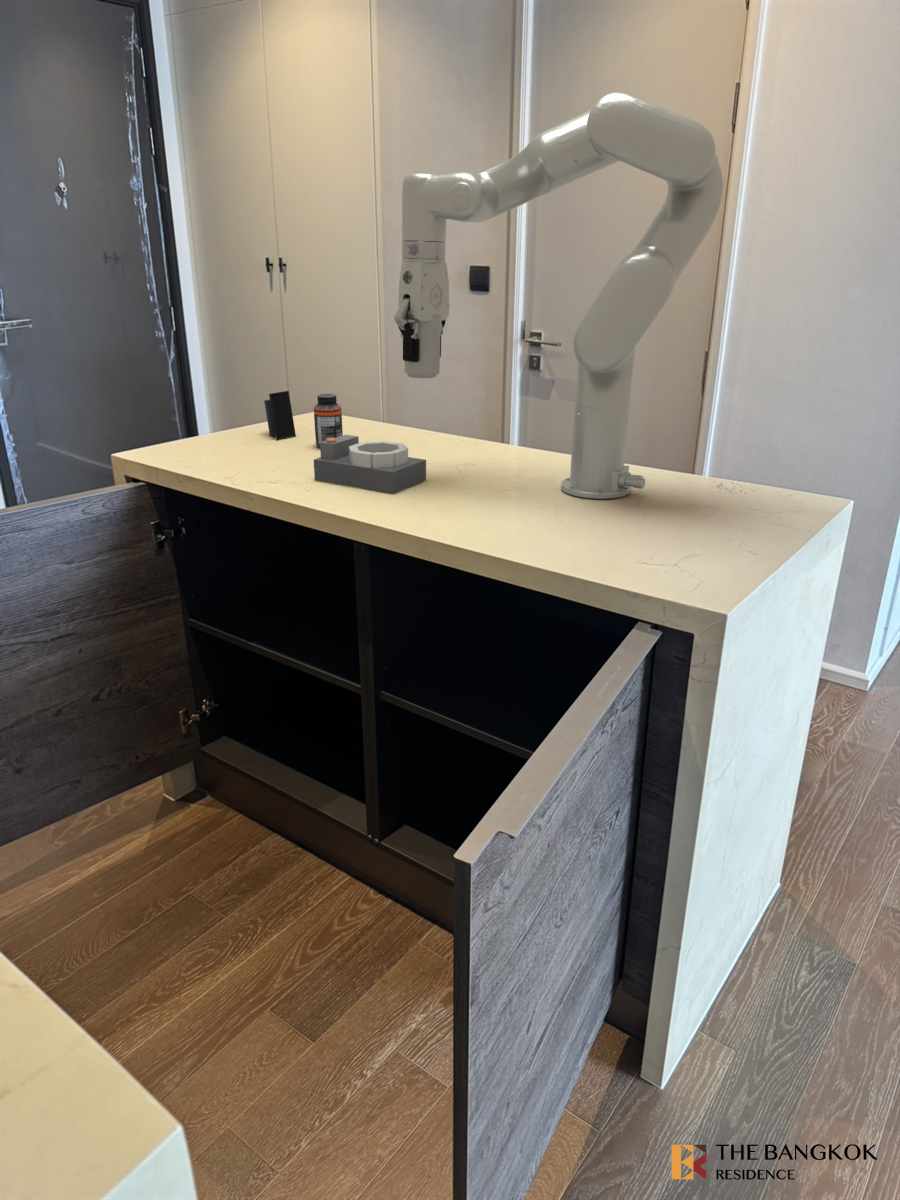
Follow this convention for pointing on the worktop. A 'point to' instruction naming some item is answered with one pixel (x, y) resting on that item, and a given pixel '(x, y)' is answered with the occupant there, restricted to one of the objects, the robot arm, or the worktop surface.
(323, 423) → the supplement bottle
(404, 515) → the worktop surface
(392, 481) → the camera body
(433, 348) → the beverage can
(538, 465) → the worktop surface
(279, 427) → the speaker
